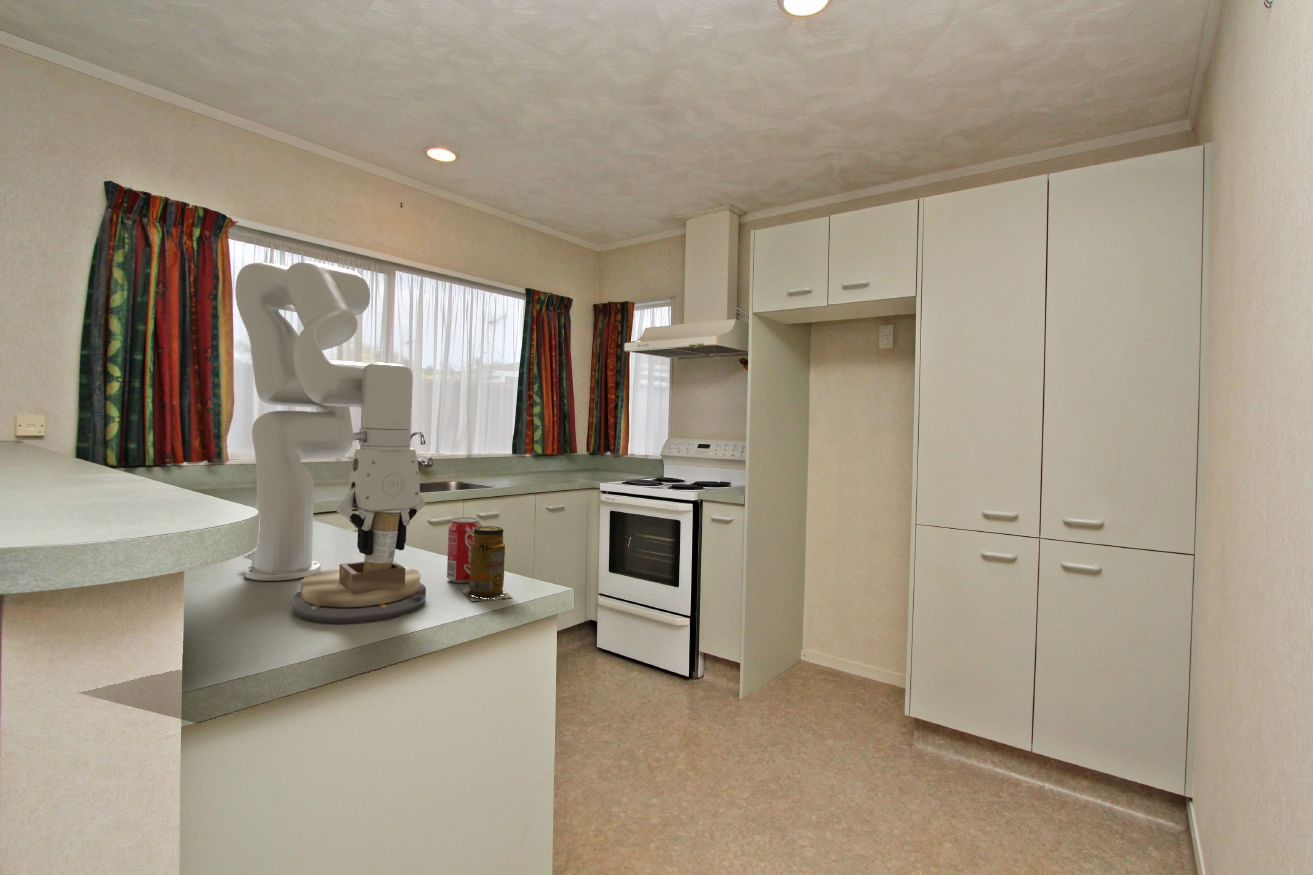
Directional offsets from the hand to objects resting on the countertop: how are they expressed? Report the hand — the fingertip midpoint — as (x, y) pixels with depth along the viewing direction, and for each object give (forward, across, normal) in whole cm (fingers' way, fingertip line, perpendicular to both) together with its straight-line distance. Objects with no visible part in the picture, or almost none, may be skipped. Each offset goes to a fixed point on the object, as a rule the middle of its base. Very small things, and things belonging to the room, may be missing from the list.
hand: (382, 549), depth 100 cm
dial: (+8, -1, +5) cm, 9 cm away
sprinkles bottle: (+5, -1, 0) cm, 5 cm away
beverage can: (+10, +20, +6) cm, 23 cm away
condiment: (+10, +18, -4) cm, 21 cm away
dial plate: (+10, -1, +5) cm, 11 cm away
